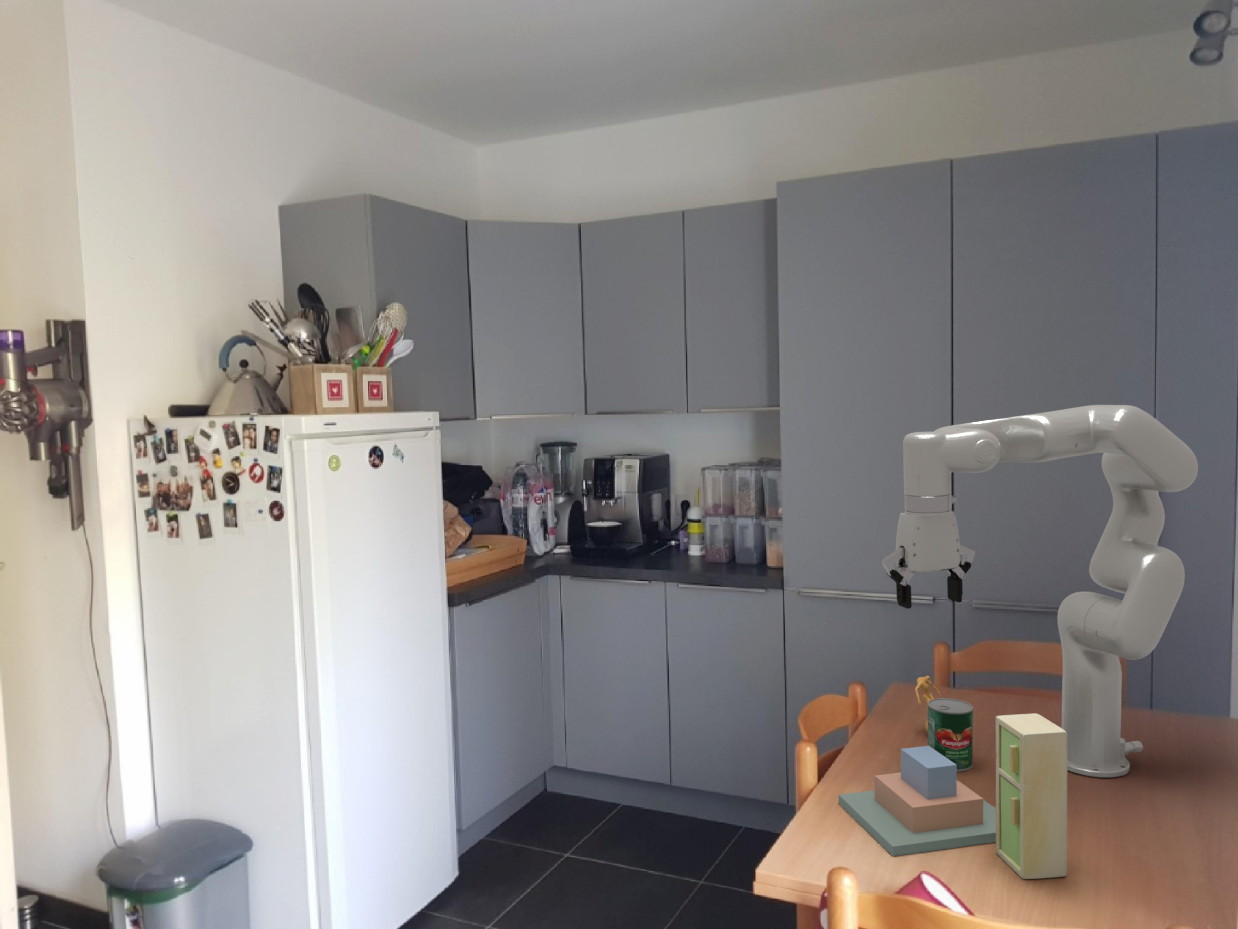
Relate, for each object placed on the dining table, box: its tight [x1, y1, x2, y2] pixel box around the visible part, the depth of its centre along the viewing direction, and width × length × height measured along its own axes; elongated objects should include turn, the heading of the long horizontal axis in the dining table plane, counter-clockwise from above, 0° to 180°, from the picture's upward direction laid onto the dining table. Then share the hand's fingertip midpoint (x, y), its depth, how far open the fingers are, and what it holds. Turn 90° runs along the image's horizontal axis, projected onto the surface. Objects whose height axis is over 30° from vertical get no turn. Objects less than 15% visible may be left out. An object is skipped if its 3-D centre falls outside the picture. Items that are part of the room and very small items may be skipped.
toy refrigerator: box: [995, 712, 1068, 880], centre depth 130 cm, size 8×7×21 cm
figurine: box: [914, 675, 942, 733], centre depth 179 cm, size 8×6×12 cm
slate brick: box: [900, 745, 958, 800], centre depth 144 cm, size 5×8×5 cm, turn 12°
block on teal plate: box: [838, 772, 996, 857], centre depth 144 cm, size 22×18×6 cm
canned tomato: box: [927, 697, 974, 773], centre depth 166 cm, size 8×8×11 cm
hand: (929, 603), depth 154 cm, fingers open, 9 cm apart
